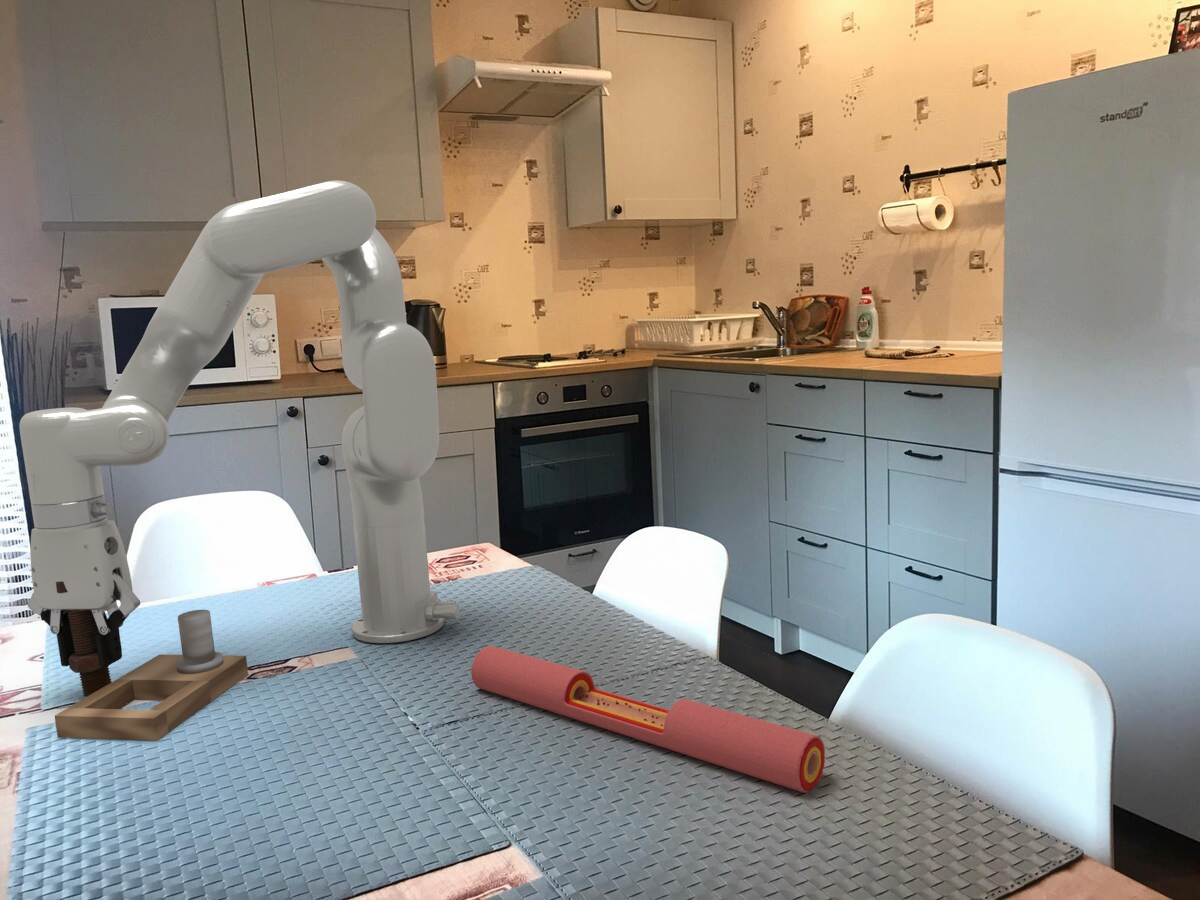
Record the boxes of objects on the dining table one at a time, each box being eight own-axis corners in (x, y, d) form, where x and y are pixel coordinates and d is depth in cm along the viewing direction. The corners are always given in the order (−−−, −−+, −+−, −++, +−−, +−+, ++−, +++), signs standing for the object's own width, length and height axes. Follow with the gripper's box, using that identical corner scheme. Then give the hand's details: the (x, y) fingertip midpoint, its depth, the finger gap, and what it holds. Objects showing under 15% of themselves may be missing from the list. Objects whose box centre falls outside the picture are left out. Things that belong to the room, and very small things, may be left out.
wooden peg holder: (248, 674, 117) (240, 605, 116) (156, 740, 100) (145, 659, 99) (161, 673, 120) (152, 605, 118) (57, 737, 102) (45, 658, 101)
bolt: (99, 703, 110) (75, 579, 108) (62, 705, 111) (38, 582, 109) (133, 684, 116) (111, 566, 114) (97, 686, 117) (75, 568, 115)
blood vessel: (826, 779, 85) (825, 727, 84) (799, 803, 81) (798, 748, 80) (503, 680, 112) (500, 640, 111) (471, 694, 108) (468, 653, 107)
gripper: (155, 505, 112) (174, 651, 115) (31, 508, 115) (53, 650, 118) (112, 520, 105) (134, 675, 108) (-18, 522, 108) (6, 673, 111)
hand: (92, 660), depth 113 cm, fingers closed on bolt, 4 cm apart
